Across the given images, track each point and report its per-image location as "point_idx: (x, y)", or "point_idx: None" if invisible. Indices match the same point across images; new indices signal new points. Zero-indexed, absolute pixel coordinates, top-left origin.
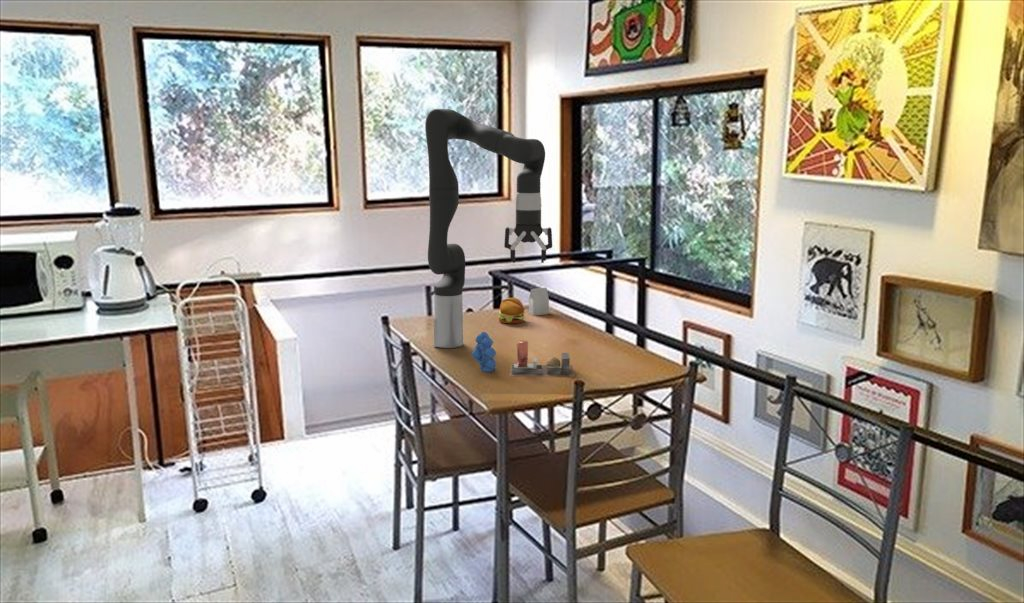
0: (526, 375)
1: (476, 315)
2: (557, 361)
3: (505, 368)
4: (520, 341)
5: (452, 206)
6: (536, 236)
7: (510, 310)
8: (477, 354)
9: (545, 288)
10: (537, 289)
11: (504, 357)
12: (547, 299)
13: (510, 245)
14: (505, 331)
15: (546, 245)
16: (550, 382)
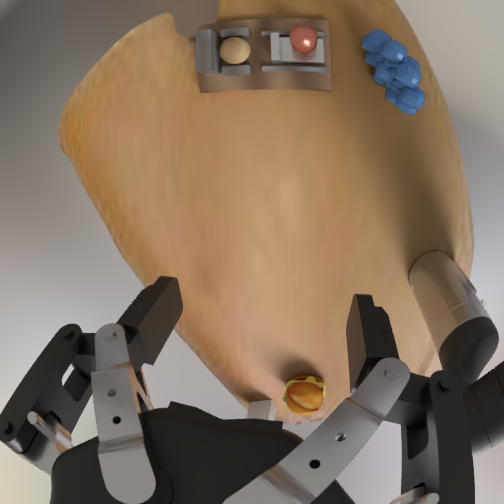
0: (294, 23)
1: None
2: (224, 41)
3: (341, 103)
4: (309, 38)
5: None
6: (109, 434)
7: (308, 388)
8: (408, 56)
9: None
10: None
11: (342, 182)
12: (248, 418)
13: (407, 399)
14: (322, 343)
15: (91, 354)
16: None
